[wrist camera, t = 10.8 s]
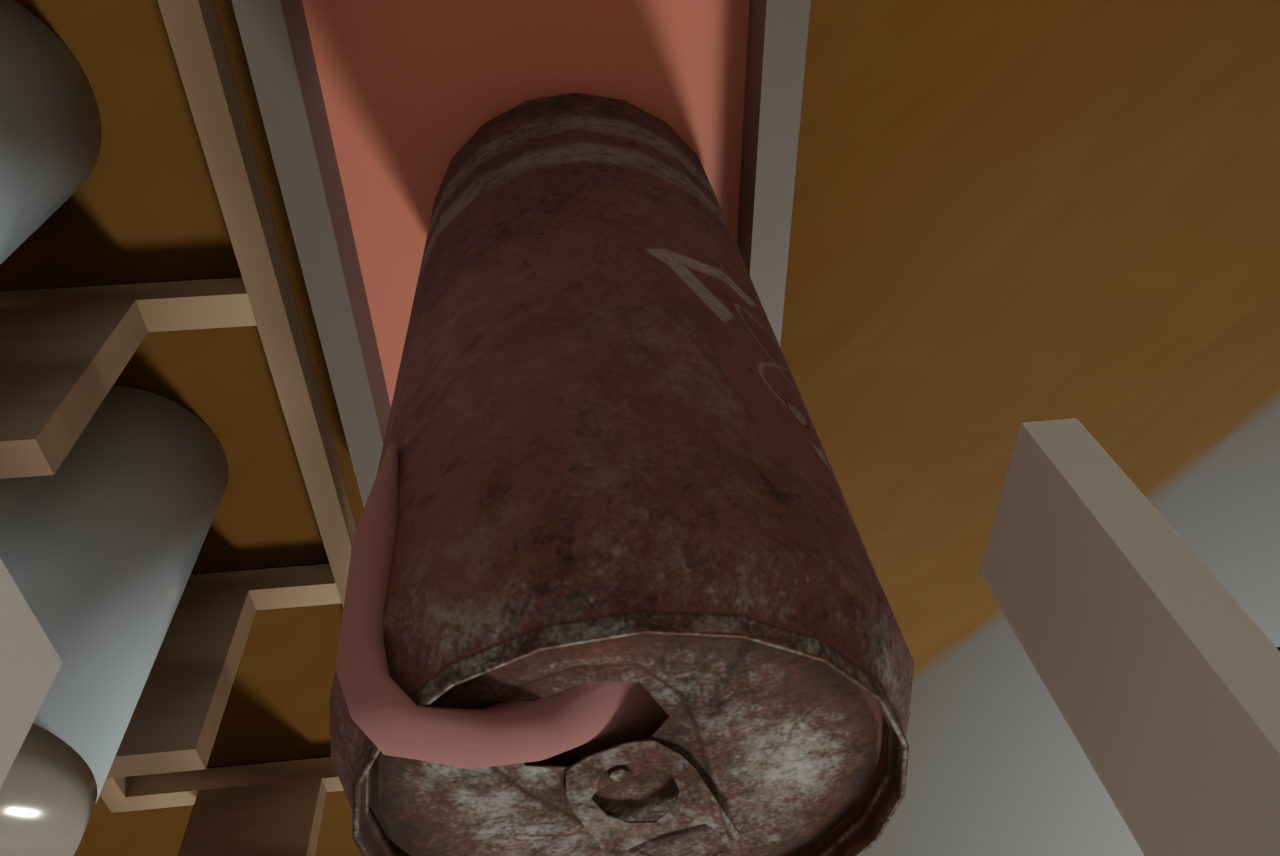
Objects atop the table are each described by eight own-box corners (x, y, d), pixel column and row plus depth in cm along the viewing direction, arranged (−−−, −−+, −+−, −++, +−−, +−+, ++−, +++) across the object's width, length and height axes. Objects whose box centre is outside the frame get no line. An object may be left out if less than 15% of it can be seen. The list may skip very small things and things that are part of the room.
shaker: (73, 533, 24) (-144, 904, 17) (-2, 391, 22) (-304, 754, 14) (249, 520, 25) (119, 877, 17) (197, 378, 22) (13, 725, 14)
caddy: (120, 791, 31) (48, 973, 26) (-501, -199, 15) (-985, -177, 10) (420, 762, 32) (401, 935, 27) (154, -213, 15) (-9, -198, 11)
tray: (384, 497, 25) (374, 548, 23) (214, -207, 15) (179, -203, 14) (750, 469, 25) (765, 518, 24) (799, -220, 16) (830, -217, 14)
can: (493, 20, 17) (430, 506, 6) (766, 169, 20) (1081, 719, 8) (381, 278, 20) (200, 925, 9) (630, 381, 23) (730, 999, 11)
